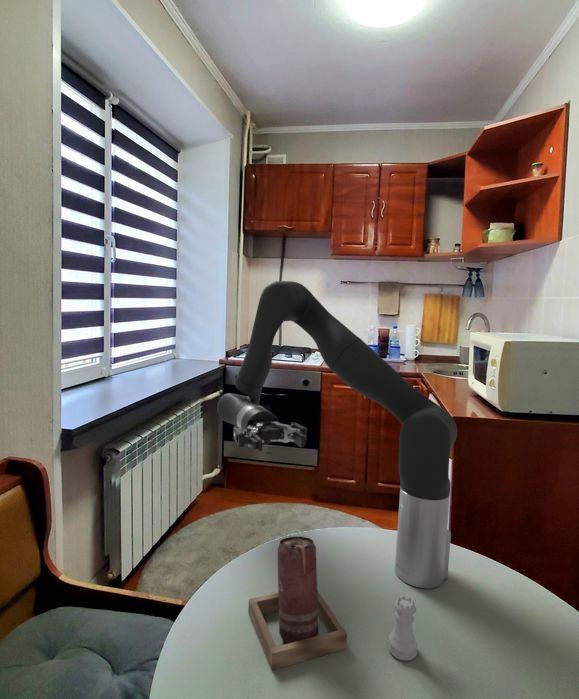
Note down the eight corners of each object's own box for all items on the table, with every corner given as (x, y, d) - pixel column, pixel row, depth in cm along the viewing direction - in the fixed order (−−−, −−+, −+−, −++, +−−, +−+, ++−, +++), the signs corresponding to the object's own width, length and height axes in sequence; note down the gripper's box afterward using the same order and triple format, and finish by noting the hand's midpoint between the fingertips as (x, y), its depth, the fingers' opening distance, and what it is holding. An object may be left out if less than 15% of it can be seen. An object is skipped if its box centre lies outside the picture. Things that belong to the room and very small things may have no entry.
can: (292, 652, 61) (289, 551, 63) (273, 632, 67) (271, 539, 68) (327, 639, 64) (323, 543, 66) (305, 621, 69) (303, 532, 71)
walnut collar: (313, 598, 75) (313, 585, 75) (346, 649, 64) (346, 633, 64) (248, 613, 71) (248, 599, 70) (271, 670, 59) (272, 653, 59)
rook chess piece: (418, 665, 61) (422, 614, 61) (387, 659, 62) (390, 608, 62) (415, 642, 66) (419, 594, 65) (386, 637, 67) (389, 589, 66)
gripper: (225, 408, 91) (245, 427, 76) (286, 405, 96) (317, 421, 81) (225, 442, 91) (245, 467, 76) (286, 437, 96) (316, 459, 81)
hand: (282, 443), depth 79 cm, fingers open, 8 cm apart
